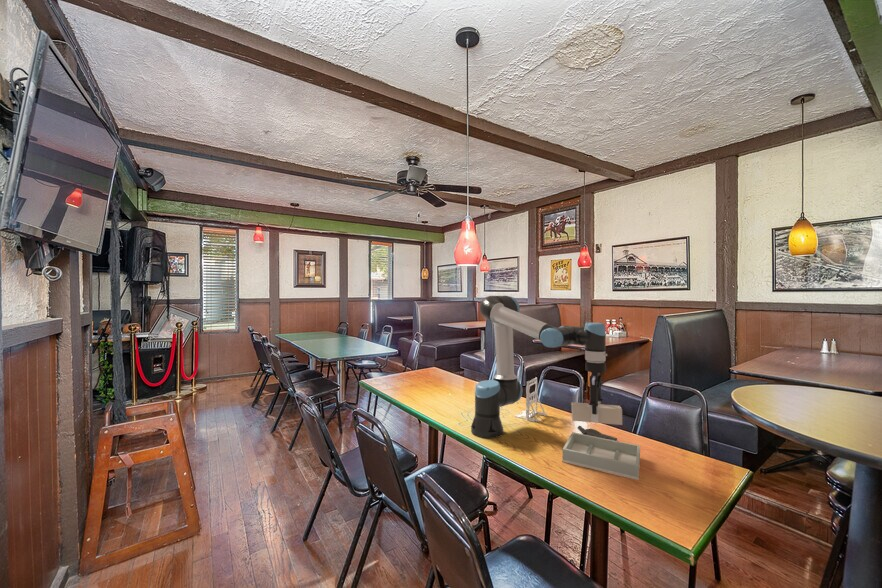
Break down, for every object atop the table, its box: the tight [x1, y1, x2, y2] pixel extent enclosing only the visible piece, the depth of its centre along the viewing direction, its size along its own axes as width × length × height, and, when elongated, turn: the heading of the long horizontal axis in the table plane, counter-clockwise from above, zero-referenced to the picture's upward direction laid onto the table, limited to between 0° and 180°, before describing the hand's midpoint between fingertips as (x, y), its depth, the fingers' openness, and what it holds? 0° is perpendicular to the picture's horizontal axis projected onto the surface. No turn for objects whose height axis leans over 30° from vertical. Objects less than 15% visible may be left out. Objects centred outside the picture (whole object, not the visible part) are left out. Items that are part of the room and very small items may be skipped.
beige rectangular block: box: [571, 401, 623, 426], centre depth 141 cm, size 18×5×6 cm, turn 73°
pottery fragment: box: [577, 425, 618, 441], centre depth 161 cm, size 15×12×4 cm
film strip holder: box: [514, 376, 548, 423], centre depth 190 cm, size 14×14×20 cm
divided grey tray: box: [561, 431, 641, 481], centre depth 140 cm, size 26×20×5 cm
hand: (595, 419), depth 141 cm, fingers closed on beige rectangular block, 6 cm apart
